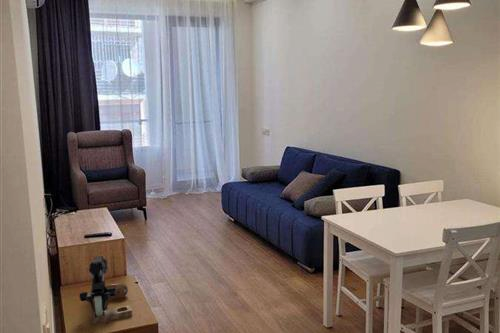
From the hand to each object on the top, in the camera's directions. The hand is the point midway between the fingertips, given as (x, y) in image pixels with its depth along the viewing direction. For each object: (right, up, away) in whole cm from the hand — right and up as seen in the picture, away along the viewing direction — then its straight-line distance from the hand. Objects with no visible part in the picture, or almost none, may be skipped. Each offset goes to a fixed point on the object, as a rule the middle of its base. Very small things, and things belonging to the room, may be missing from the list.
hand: (98, 309), depth 246 cm
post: (0, -6, +2) cm, 7 cm away
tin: (0, -3, +30) cm, 30 cm away
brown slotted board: (+6, -6, +4) cm, 9 cm away
